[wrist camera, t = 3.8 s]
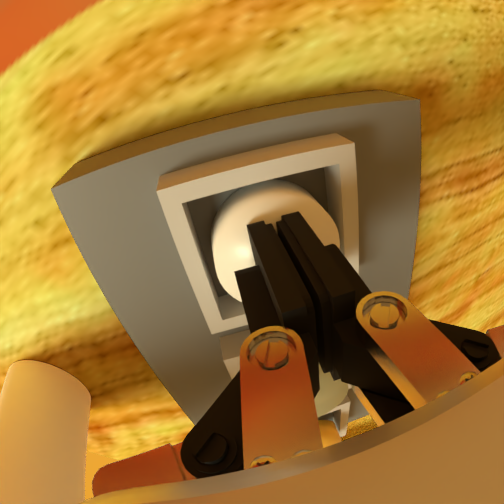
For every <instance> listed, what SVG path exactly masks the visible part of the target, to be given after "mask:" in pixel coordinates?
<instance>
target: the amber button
mask: <svg viewBox="0 0 504 504" xmlns="http://www.w3.org/2000/svg"><path fill="white" fill-rule="evenodd" d="M318 422H319V428H320V433H321V439H322V444H323V448H325V447H328V446H330V445H333V444H336V443H339V442H342V440H341V438H340V435H339V433H338V430H337V428H336V425H335V423H334V422H333V421H330V420H318Z"/></svg>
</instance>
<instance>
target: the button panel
mask: <svg viewBox="0 0 504 504" xmlns="http://www.w3.org/2000/svg"><path fill="white" fill-rule="evenodd" d="M420 179H421V113H420V99H416V98H412V97H409V96H405V95H401V94H396V93H392V92H388V91H383V90H372V91H362V92H352V93H344V94H336V95H328V96H321V97H314V98H308V99H302V100H296V101H290V102H284V103H279V104H273V105H268V106H263V107H258V108H254V109H249V110H244V111H240V112H236V113H231V114H227V115H223V116H219V117H215V118H211V119H207V120H203V121H200V122H196V123H192V124H189V125H185V126H182V127H178V128H175V129H171V130H168V131H165V132H162V133H158V134H155V135H152V136H149V137H146V138H143V139H140V140H137V141H134V142H131V143H128V144H125V145H123V146H120V147H117V148H114V149H111V150H109V151H106V152H103V153H101V154H98V155H96V156H93V157H90V158H88V159H85V160H83V161H81V162H78V163H76V164H74V165H73V166H72V167H71V168H70V169H69V170H68V171H67V172H66V173H65V174H64V176H63V177H62V178H61V179H60V180H59V181H58V182H57V183H56V184H55V185H54V186H53V187H52V188H51V190H52V193H53V195H54V197H55V200H56V202H57V204H58V206H59V209H60V211H61V213H62V215H63V217H64V219H65V222H66V224H67V226H68V228H69V230H70V232H71V234H72V236H73V238H74V240H75V242H76V244H77V246H78V248H79V250H80V252H81V254H82V256H83V258H84V260H85V261H86V263H87V265H88V267H89V269H90V271H91V273H92V274H93V276H94V278H95V280H96V282H97V283H98V285H99V287H100V289H101V290H102V292H103V294H104V296H105V297H106V299H107V301H108V302H109V304H110V306H111V307H112V309H113V311H114V312H115V314H116V316H117V317H118V319H119V320H120V322H121V324H122V325H123V327H124V328H125V330H126V331H127V333H128V334H129V336H130V338H131V339H132V341H133V342H134V344H135V345H136V347H137V348H138V350H139V351H140V353H141V354H142V355H143V357H144V358H145V360H146V361H147V363H148V364H149V366H150V367H151V368H152V370H153V371H154V373H155V374H156V375H157V377H158V378H159V380H160V381H161V382H162V384H163V385H164V386H165V388H166V389H167V390H168V392H169V393H170V394H171V396H172V397H173V398H174V400H175V401H176V402H177V403H178V405H179V406H180V407H181V408H182V410H183V411H184V412H185V414H186V415H187V416H188V417H189V418H190V420H191V421H192V422H193V423H194V425H196V424H197V423H198V421H199V420H200V419H201V418H202V417H203V415H204V414H205V413H206V412H207V410H208V409H209V408H210V407H211V406H212V404H213V403H214V402H215V401H216V399H217V398H218V397H219V396H220V394H221V393H222V392H223V391H224V389H225V388H226V387H227V386H228V384H229V383H230V382H231V380H232V379H233V378H234V377H235V375H236V374H237V373H238V372H239V370H240V349H241V346H242V344H243V342H244V340H245V339H246V338H247V337H248V336H249V335H250V334H251V333H250V330H249V326H248V322H247V319H246V315H245V311H244V307H243V304H242V302H240V301H238V300H237V299H235V298H233V297H232V296H231V295H230V294H229V293H228V292H227V291H226V290H225V289H224V288H223V286H222V285H221V283H220V281H219V279H218V277H217V273H216V269H215V263H214V258H213V252H212V246H211V228H212V223H213V220H214V218H215V215H216V214H217V212H218V210H219V208H220V207H221V206H222V204H223V203H224V202H225V201H226V200H227V199H228V198H229V197H230V196H231V195H232V194H234V193H235V192H236V191H238V190H239V189H241V188H243V187H245V186H247V185H250V184H254V183H258V182H262V181H266V180H284V181H288V182H291V183H294V184H297V185H299V186H300V187H302V188H304V189H305V190H306V191H308V192H309V193H310V194H311V195H312V196H313V197H314V199H315V200H316V201H317V202H318V203H319V204H320V205H321V206H322V207H323V209H324V210H325V211H326V212H327V213H328V214H329V215H330V216H331V218H332V219H333V221H334V222H335V225H336V227H337V229H338V233H339V239H340V251H341V252H342V253H343V255H344V256H345V257H346V259H347V260H348V261H349V263H350V264H351V265H352V267H353V268H354V269H355V271H356V272H357V273H358V275H359V276H360V277H361V279H362V280H363V281H364V283H365V284H366V285H367V287H368V288H369V290H370V291H371V292H372V293H374V292H380V291H388V292H394V293H397V294H399V295H401V296H403V297H404V298H406V299H407V300H408V295H409V289H410V283H411V276H412V269H413V262H414V254H415V245H416V236H417V226H418V214H419V199H420ZM347 385H348V393H347V395H346V397H345V398H344V399H343V401H342V402H341V403H340V404H339V405H338V406H336V407H335V408H334V409H332V410H331V411H329V412H328V413H326V414H324V415H322V416H320V417H318V420H330V421H333V422H334V423H335V425H336V428H337V430H338V433H339V435H340V437H343V436H345V435H346V431H347V424H348V422H351V421H354V420H356V419H359V418H361V417H364V416H366V415H369V413H368V411H367V410H366V408H365V407H364V406H363V404H362V403H361V401H360V400H359V399H358V397H357V396H356V394H355V393H354V391H353V389H352V386H351V385H350V384H347Z"/></svg>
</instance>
